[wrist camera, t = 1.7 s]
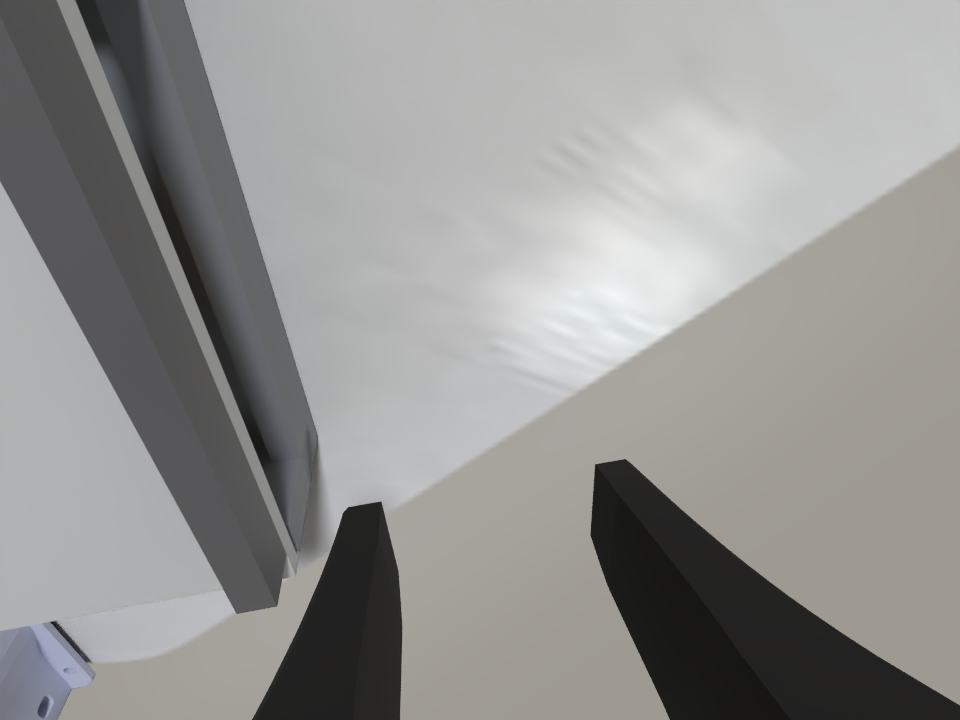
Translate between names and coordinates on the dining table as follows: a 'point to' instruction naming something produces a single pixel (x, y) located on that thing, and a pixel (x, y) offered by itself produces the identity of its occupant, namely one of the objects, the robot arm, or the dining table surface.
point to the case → (209, 228)
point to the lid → (107, 365)
